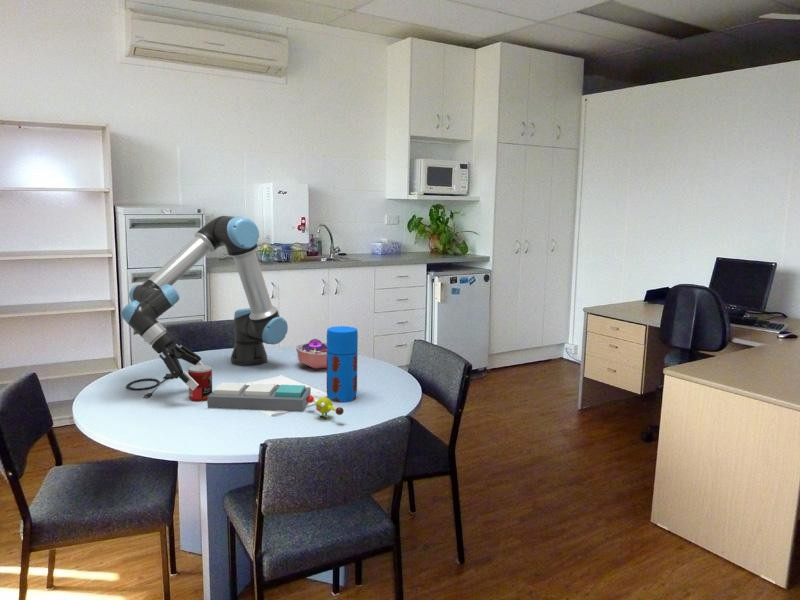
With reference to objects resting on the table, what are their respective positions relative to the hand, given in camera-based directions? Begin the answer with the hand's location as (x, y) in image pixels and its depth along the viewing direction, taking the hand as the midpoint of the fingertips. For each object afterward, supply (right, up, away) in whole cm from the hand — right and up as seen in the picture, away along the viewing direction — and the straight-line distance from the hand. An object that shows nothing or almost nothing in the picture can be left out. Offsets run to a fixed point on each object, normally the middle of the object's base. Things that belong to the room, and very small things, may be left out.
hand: (203, 382), depth 221 cm
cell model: (+34, 0, +44) cm, 56 cm away
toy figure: (+44, -10, -15) cm, 48 cm away
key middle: (+21, -5, -3) cm, 22 cm away
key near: (+10, -5, -3) cm, 12 cm away
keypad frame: (+21, -7, -3) cm, 22 cm away
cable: (-26, -4, +14) cm, 29 cm away
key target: (+31, -5, -3) cm, 32 cm away
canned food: (-1, -6, +1) cm, 6 cm away
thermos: (+48, -6, +5) cm, 49 cm away
